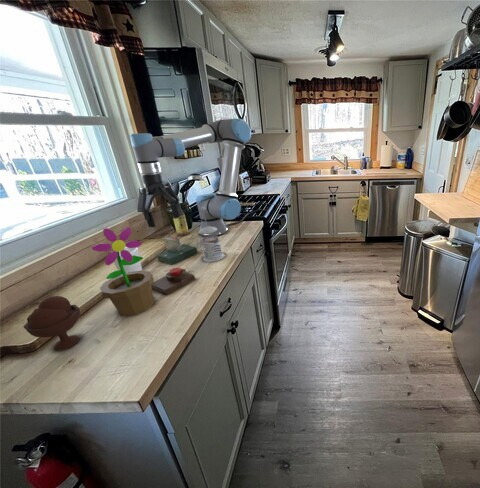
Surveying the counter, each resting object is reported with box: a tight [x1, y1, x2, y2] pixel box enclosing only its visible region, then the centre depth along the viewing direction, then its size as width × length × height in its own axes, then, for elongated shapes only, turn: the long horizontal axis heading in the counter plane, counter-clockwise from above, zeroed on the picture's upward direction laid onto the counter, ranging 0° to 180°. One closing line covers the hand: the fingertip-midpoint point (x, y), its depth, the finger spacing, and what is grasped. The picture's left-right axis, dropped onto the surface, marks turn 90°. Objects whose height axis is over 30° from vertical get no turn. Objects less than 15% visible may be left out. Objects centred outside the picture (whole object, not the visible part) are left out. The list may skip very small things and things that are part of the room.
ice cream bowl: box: [23, 295, 81, 352], centre depth 71 cm, size 11×11×15 cm
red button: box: [168, 267, 182, 276], centre depth 102 cm, size 4×4×2 cm
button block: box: [151, 268, 196, 296], centre depth 102 cm, size 12×10×4 cm
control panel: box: [156, 243, 199, 265], centre depth 125 cm, size 14×11×3 cm
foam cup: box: [110, 247, 143, 273], centre depth 104 cm, size 10×9×13 cm
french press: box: [196, 207, 226, 263], centre depth 118 cm, size 10×12×25 cm
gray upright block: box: [163, 236, 182, 253], centre depth 122 cm, size 6×2×7 cm, turn 77°
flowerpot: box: [91, 226, 155, 317], centre depth 84 cm, size 14×14×30 cm
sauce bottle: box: [171, 201, 189, 237], centre depth 150 cm, size 6×6×20 cm
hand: (164, 222), depth 116 cm, fingers open, 13 cm apart
